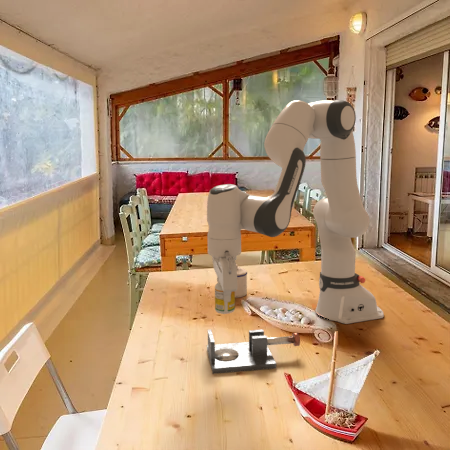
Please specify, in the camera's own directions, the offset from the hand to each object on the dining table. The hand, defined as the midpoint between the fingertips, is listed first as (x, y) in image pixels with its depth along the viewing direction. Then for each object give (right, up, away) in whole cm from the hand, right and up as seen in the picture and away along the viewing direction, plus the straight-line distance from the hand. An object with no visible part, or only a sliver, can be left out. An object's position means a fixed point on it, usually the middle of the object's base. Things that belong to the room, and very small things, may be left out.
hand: (225, 296), depth 132 cm
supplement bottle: (0, -4, +1) cm, 4 cm away
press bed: (+4, -18, +4) cm, 19 cm away
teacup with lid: (+3, -7, +57) cm, 57 cm away
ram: (+14, -15, +5) cm, 21 cm away
